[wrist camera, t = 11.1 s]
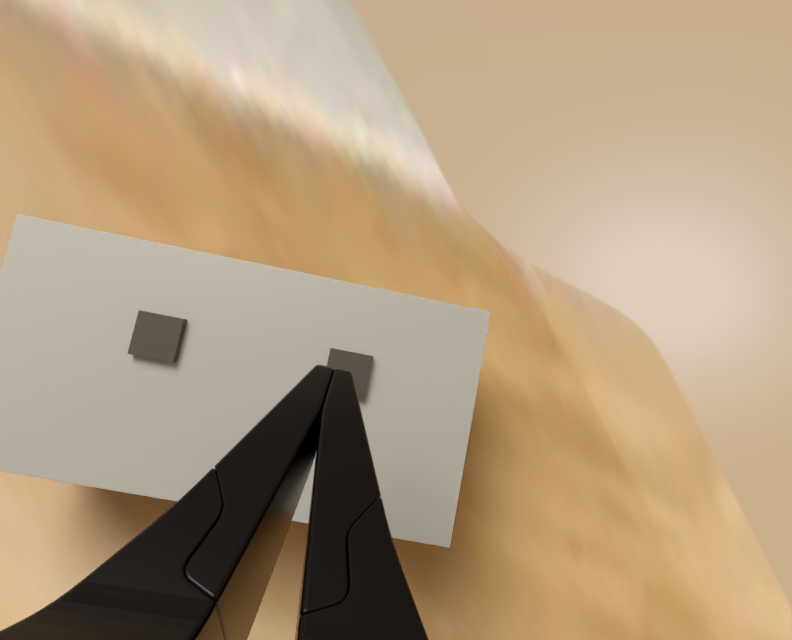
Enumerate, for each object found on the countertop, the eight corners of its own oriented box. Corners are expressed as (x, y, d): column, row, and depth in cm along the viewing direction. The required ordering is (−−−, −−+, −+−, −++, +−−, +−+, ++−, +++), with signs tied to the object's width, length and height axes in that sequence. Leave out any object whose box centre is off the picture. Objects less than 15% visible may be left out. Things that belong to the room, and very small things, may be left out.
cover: (445, 537, 16) (451, 551, 14) (-34, 455, 14) (-67, 464, 13) (484, 313, 16) (493, 310, 15) (35, 220, 15) (9, 210, 14)
